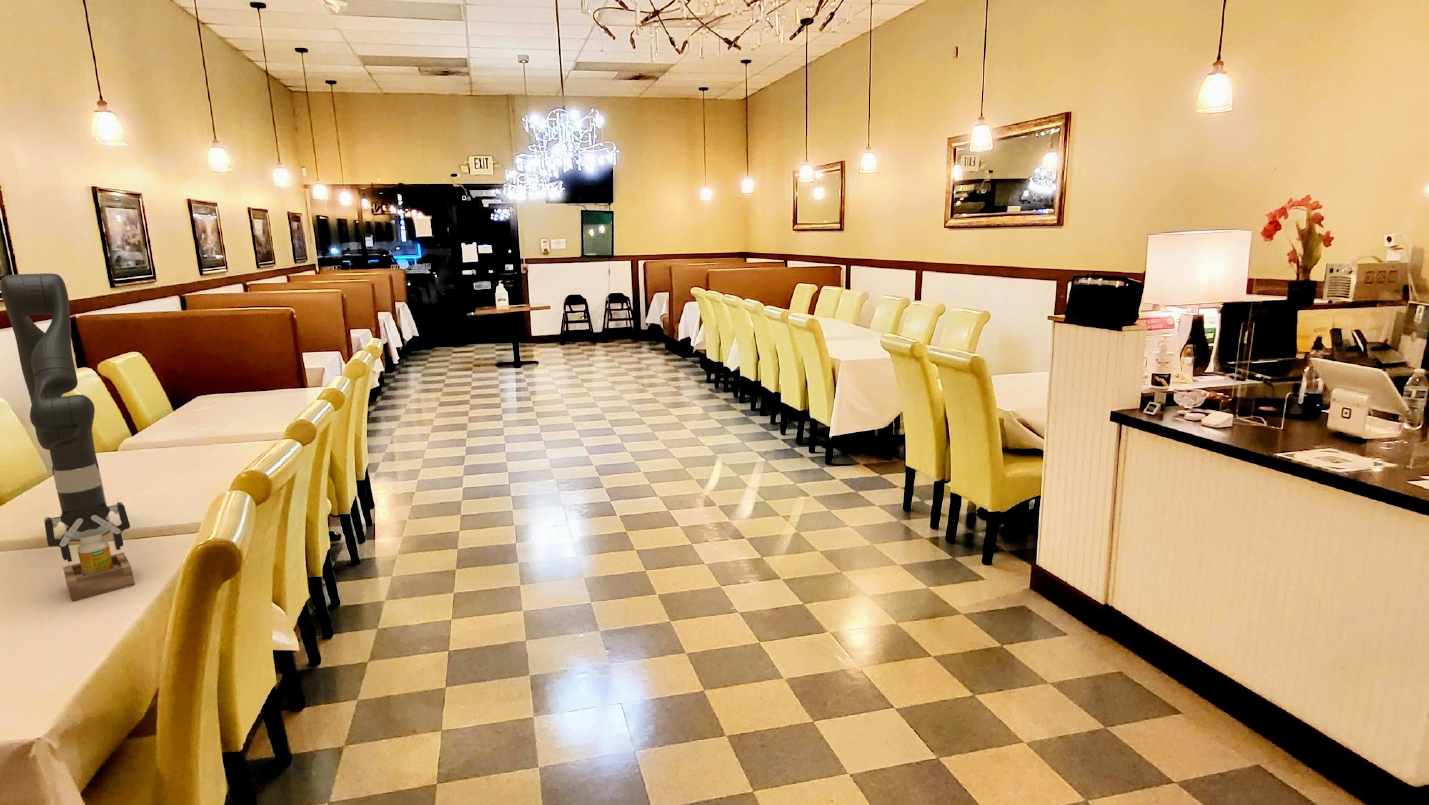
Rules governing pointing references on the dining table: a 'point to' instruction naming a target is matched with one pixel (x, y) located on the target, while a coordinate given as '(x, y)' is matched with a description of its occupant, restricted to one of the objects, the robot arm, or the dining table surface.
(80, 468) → the robot arm
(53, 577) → the dining table surface
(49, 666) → the dining table surface
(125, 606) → the dining table surface
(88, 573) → the supplement bottle
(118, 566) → the wooden open box
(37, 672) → the dining table surface
